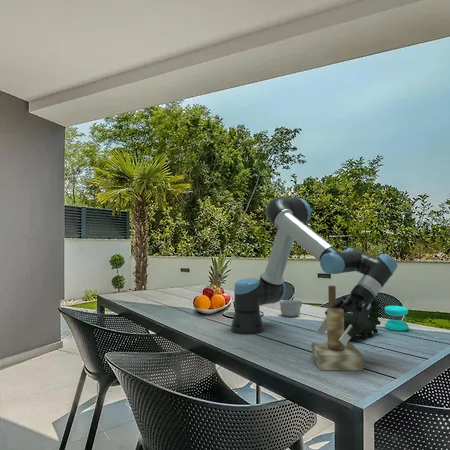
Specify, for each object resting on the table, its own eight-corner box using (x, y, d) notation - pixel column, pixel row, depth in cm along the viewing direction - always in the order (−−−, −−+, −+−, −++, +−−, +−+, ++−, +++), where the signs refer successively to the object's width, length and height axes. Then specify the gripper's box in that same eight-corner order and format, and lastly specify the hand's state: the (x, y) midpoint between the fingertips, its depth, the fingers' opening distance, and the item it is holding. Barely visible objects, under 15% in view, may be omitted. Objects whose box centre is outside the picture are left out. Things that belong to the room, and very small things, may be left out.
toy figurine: (367, 334, 171) (330, 338, 157) (368, 292, 172) (331, 293, 159) (386, 339, 163) (348, 344, 149) (387, 295, 164) (350, 296, 151)
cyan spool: (399, 304, 180) (412, 308, 170) (399, 325, 179) (413, 331, 170) (380, 305, 178) (392, 309, 168) (380, 326, 178) (393, 332, 168)
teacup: (287, 318, 197) (286, 303, 197) (276, 314, 207) (276, 300, 207) (309, 316, 202) (308, 301, 203) (297, 312, 212) (297, 298, 212)
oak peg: (329, 364, 127) (328, 311, 128) (326, 358, 133) (325, 307, 133) (347, 364, 127) (345, 311, 127) (342, 358, 133) (341, 307, 133)
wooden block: (343, 325, 181) (342, 288, 182) (327, 321, 191) (326, 285, 191) (348, 324, 183) (347, 287, 183) (332, 320, 192) (331, 285, 193)
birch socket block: (320, 370, 123) (319, 354, 123) (312, 356, 137) (311, 342, 137) (363, 370, 123) (362, 354, 123) (350, 356, 137) (350, 342, 137)
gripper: (397, 304, 123) (359, 355, 118) (350, 292, 147) (317, 335, 142) (383, 288, 122) (345, 340, 117) (338, 279, 145) (304, 322, 141)
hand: (329, 337), depth 129 cm, fingers open, 13 cm apart
